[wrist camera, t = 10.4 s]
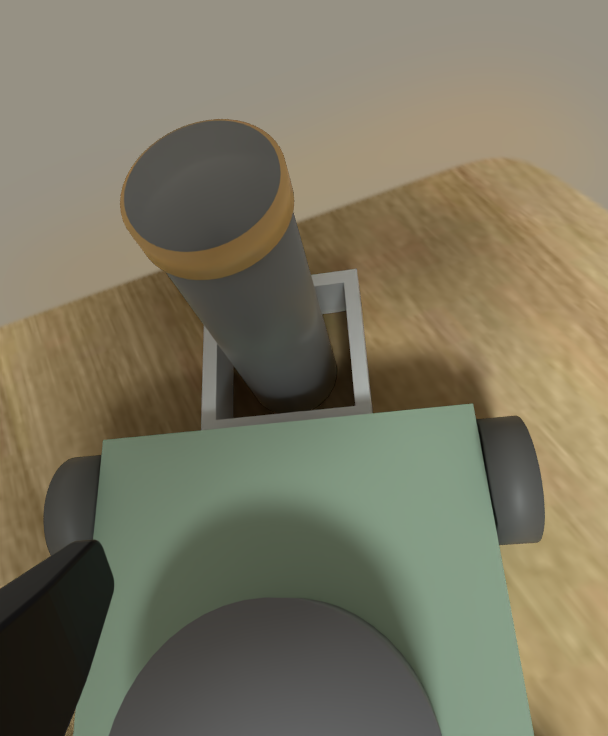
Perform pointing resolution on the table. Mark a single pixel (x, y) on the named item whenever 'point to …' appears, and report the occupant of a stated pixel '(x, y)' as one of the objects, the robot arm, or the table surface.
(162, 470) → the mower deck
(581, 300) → the table surface
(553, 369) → the table surface
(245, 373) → the grey banded cylinder
